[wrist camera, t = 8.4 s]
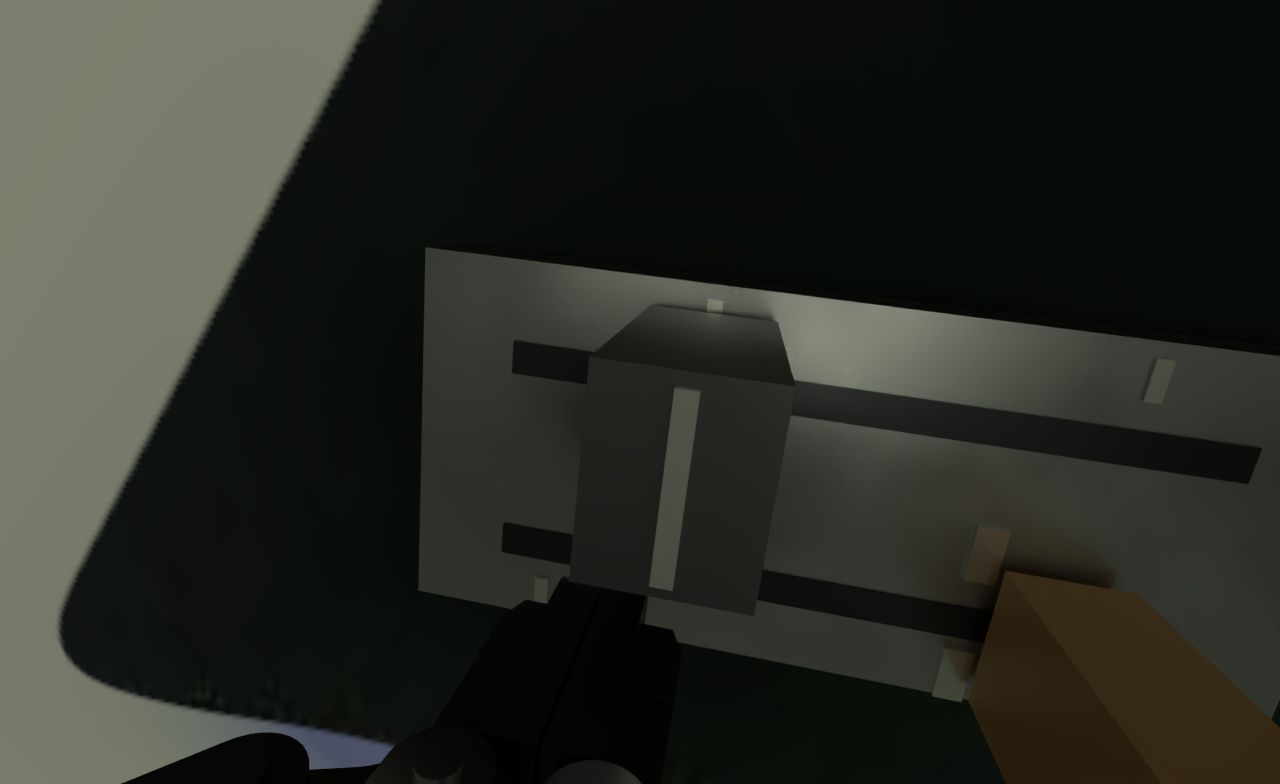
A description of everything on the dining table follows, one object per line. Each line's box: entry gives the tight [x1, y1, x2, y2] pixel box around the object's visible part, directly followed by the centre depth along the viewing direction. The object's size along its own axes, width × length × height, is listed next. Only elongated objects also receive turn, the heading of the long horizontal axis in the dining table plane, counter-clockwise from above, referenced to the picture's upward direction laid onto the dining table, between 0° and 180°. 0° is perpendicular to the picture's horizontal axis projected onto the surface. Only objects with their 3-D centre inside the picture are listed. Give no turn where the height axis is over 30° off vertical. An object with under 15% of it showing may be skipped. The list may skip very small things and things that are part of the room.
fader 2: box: [968, 571, 1280, 784], centre depth 10 cm, size 3×2×5 cm
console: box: [419, 244, 1280, 719], centre depth 14 cm, size 8×18×2 cm, turn 83°
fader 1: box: [569, 305, 796, 616], centre depth 10 cm, size 3×2×5 cm
